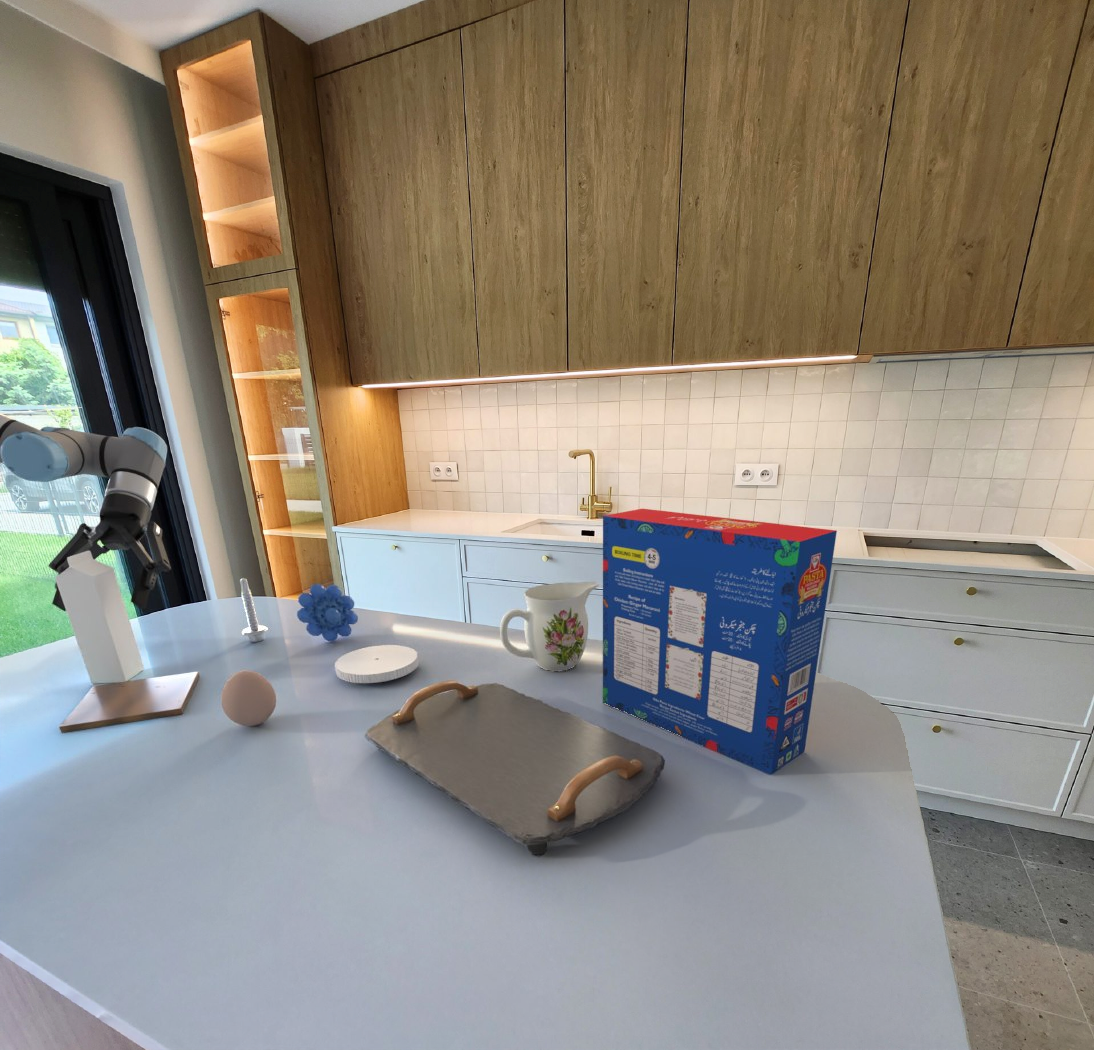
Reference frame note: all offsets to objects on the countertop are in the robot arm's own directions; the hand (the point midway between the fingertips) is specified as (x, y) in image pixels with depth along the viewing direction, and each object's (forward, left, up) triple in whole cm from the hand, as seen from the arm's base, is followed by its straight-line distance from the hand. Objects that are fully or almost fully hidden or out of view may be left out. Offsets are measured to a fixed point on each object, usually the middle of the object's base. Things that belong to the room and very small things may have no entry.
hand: (98, 606), depth 107 cm
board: (+6, -15, -13) cm, 20 cm away
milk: (0, -1, -13) cm, 13 cm away
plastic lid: (+44, -18, -13) cm, 49 cm away
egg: (+25, -31, -13) cm, 41 cm away
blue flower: (+37, +2, -13) cm, 39 cm away
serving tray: (+57, -56, -13) cm, 80 cm away
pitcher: (+73, -27, -13) cm, 79 cm away
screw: (+22, +10, -13) cm, 27 cm away
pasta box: (+84, -56, -13) cm, 101 cm away
